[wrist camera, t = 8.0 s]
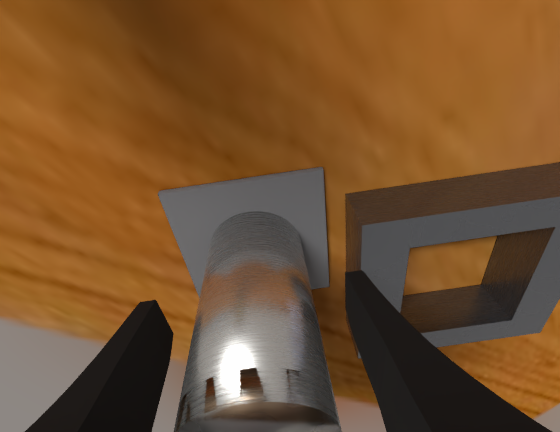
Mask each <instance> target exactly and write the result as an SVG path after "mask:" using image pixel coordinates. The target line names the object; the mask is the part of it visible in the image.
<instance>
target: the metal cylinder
mask: <svg viewBox="0 0 560 432" xmlns="http://www.w3.org/2000/svg"><path fill="white" fill-rule="evenodd" d="M174 432H342V431H341V426H340V422H339V417H338V413H337V408H336V403H335V398H334V394H333V389H332V384H331V380H330V375H329V370H328V366H327V361H326V356H325V352H324V347H323V342H322V338H321V333H320V328H319V324H318V319H317V314H316V310H315V305H314V300H313V296H312V291H311V286H310V282H309V277H308V272H307V268H306V263H305V258H304V254H303V249H302V244H301V240H300V236H299V234H298V232H297V230H296V229H295V228H294V226H293V225H292V224H291V223H290V222H289V221H287V220H286V219H284V218H282V217H280V216H278V215H276V214H273V213H269V212H263V211H250V212H244V213H240V214H237V215H234V216H232V217H230V218H228V219H227V220H225V221H224V222H223V223H222V224H220V226H219V227H218V228H217V229H216V230H215V232H214V234H213V236H212V238H211V242H210V247H209V253H208V258H207V263H206V268H205V273H204V278H203V284H202V289H201V294H200V299H199V304H198V309H197V315H196V320H195V325H194V330H193V335H192V340H191V346H190V351H189V356H188V361H187V366H186V372H185V377H184V382H183V387H182V393H181V397H180V402H179V408H178V413H177V418H176V424H175V428H174Z"/></svg>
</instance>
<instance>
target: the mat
mask: <svg viewBox="0 0 560 432" xmlns="http://www.w3.org/2000/svg"><path fill="white" fill-rule="evenodd" d="M158 196H159V198H160V201H161V203H162V206H163V208H164V211H165V213H166V216H167V218H168V221H169V223H170V226H171V228H172V231H173V233H174V236H175V238H176V241H177V243H178V246H179V248H180V251H181V253H182V255H183V258H184V260H185V263H186V265H187V268H188V270H189V273H190V275H191V278H192V280H193V283H194V285H195V288H196V290H197V293H198V295H199V298H200V294H201V289H202V284H203V278H204V273H205V268H206V263H207V258H208V253H209V247H210V242H211V238H212V236H213V234H214V232H215V230H216V229H217V228H218V227H219V226H220V224H222V223H223V222H224V221H225V220H227V219H228V218H230V217H232V216H234V215H237V214H240V213H244V212H250V211H263V212H269V213H273V214H276V215H278V216H280V217H282V218H284V219H286V220H287V221H289V222H290V223H291V224H292V225H293V226H294V228H295V229H296V230H297V232H298V234H299V236H300V240H301V244H302V249H303V254H304V258H305V263H306V268H307V272H308V277H309V282H310V286H311V289H317V288H324V287H329V270H328V251H327V231H326V212H325V192H324V172H323V168H322V167H317V168H311V169H304V170H297V171H290V172H284V173H277V174H270V175H263V176H257V177H250V178H243V179H236V180H230V181H223V182H216V183H209V184H202V185H196V186H189V187H182V188H175V189H169V190H162V191H159V193H158Z"/></svg>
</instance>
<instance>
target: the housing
mask: <svg viewBox="0 0 560 432" xmlns="http://www.w3.org/2000/svg"><path fill="white" fill-rule="evenodd" d="M496 235H498V238H497V241H496V243H495V246H494V249H493V252H492V255H491V258H490V261H489V264H488V267H487V269H486V272H485V275H484V278H483V281H482V284H481V285H476V286H469V287H462V288H455V289H448V290H441V291H434V292H428V293H421V294H414V295H407V296H403V291H404V284H405V277H406V270H407V263H408V256H409V250H410V248H413V247H420V246H427V245H434V244H441V243H448V242H455V241H461V240H468V239H475V238H482V237H489V236H496ZM358 270H362V271H364V272H365V274H366V275H367V276H368V277H369V279H370V280H371V281H372V282H373V284H374V285H375V286H376V287H377V288H378V290H379V291H380V292H381V293H382V294H383V295H384V296H385V298H386V299H387V300H388V301H389V302H390V303H391V304H392V305H393V306H394V307H395V308H396V309H397V311H398V312H399V313H400V314H401V315H402V316H403V317H404V318H405V319H406V320H407V321H408V322H409V323H410V324H411V325H412V326H413V327H414V328H415V329H416V330H417V331H418V332H420V333H421V334H422V335H423V336H424V337H425V338H426V339H427V340H428V341H429V342H430V343H431V344H433V345H434V346H435V347H442V346H449V345H456V344H463V343H470V342H477V341H484V340H491V339H498V338H505V337H512V336H519V335H526V334H533V333H540V332H541V330H542V328H543V327H544V325H545V323H546V321H547V320H548V318H549V316H550V314H551V313H552V311H553V309H554V307H555V306H556V304H557V302H558V300H559V299H560V162H559V163H553V164H546V165H539V166H532V167H525V168H519V169H512V170H505V171H498V172H491V173H485V174H478V175H471V176H464V177H457V178H451V179H444V180H437V181H430V182H423V183H417V184H410V185H403V186H396V187H389V188H383V189H376V190H369V191H362V192H355V193H349V194H346V272H352V271H358ZM346 321H347V324H348V327H349V331H350V334H351V337H352V340H353V343H354V347H355V350H356V353H357V356H358V358H361V356H360V353H359V351H358V348H357V345H356V343H355V340H354V337H353V335H352V331H351V327H350V323H349V320H348V316H347V312H346Z"/></svg>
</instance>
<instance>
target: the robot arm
mask: <svg viewBox="0 0 560 432" xmlns="http://www.w3.org/2000/svg"><path fill="white" fill-rule="evenodd" d="M345 292H346V312H347V316H348V320H349V323H350V327H351V331H352V335H353V337H354V340H355V343H356V345H357V348H358V351H359V353H360V356H361V358H362V361H363V364H364V366H365V369H366V372H367V374H368V377H369V379H370V382H371V385H372V387H373V390H374V393H375V395H376V398H377V401H378V404H379V407H380V410H381V414H382V417H383V421H384V424H385V428H386V431H387V432H552V431H550V430H549V429H547V428H546V427H544V426H542V425H541V424H539V423H537V422H536V421H534V420H533V419H531V418H530V417H528V416H527V415H525V414H524V413H522V412H521V411H520V410H518V409H517V408H515V407H514V406H512V405H511V404H509V403H508V402H506V401H505V400H503V399H502V398H501V397H499V396H498V395H496V394H495V393H494V392H492V391H491V390H490V389H488V388H487V387H485V386H484V385H483V384H481V383H480V382H479V381H477V380H476V379H474V378H473V377H472V376H470V375H469V374H468V373H466V372H465V371H464V370H463V369H461V368H460V367H459V366H458V365H456V364H455V363H454V362H453V361H451V360H450V359H449V358H448V357H447V356H445V355H444V354H443V353H442V352H441V351H439V350H438V349H437V348H436V347H435V346H434V345H433V344H431V343H430V342H429V341H428V340H427V339H426V338H425V337H424V336H423V335H422V334H421V333H420V332H418V331H417V330H416V329H415V328H414V327H413V326H412V325H411V324H410V323H409V322H408V321H407V320H406V319H405V318H404V317H403V316H402V315H401V314H400V313H399V312H398V311H397V309H396V308H395V307H394V306H393V305H392V304H391V303H390V302H389V301H388V300H387V299H386V298H385V296H384V295H383V294H382V293H381V292H380V291H379V290H378V288H377V287H376V286H375V285H374V284H373V282H372V281H371V280H370V279H369V277H368V276H367V275H366V274H365V272H364V271H362V270H358V271H352V272H345ZM172 341H173V332H172V330H171V328H170V326H169V324H168V322H167V320H166V318H165V316H164V314H163V313H162V311H161V309H160V307H159V305H158V303H157V301H156V300H152V301H145V302H140V303H139V304H138V305H137V306H136V308H135V309H134V310H133V311H132V313H131V314H130V315H129V316H128V318H127V319H126V320H125V321H124V323H123V324H122V325H121V327H120V328H119V329H118V330H117V332H116V333H115V334H114V335H113V337H112V338H111V339H110V340H109V341H108V343H107V344H106V345H105V346H104V348H103V349H102V350H101V351H100V353H99V354H98V355H97V356H96V357H95V359H94V360H93V361H92V362H91V363H90V364H89V365H88V366H87V368H86V369H85V370H84V371H83V372H82V373H81V374H80V376H79V377H78V378H77V379H76V380H75V381H74V382H73V384H72V385H71V386H70V387H69V388H68V389H67V390H66V391H65V392H64V393H63V394H62V395H61V396H60V397H59V398H58V400H57V401H56V402H55V403H54V404H53V405H52V406H51V407H50V408H49V409H48V410H47V411H46V412H45V413H44V414H43V415H42V416H41V417H40V418H39V419H38V420H37V421H36V422H35V423H34V424H32V425H31V426H30V427H29V428H28V429H27V430H26V431H25V432H152V427H153V423H154V419H155V416H156V412H157V408H158V404H159V401H160V397H161V392H162V389H163V385H164V382H165V378H166V374H167V370H168V366H169V362H170V356H171V349H172Z"/></svg>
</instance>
